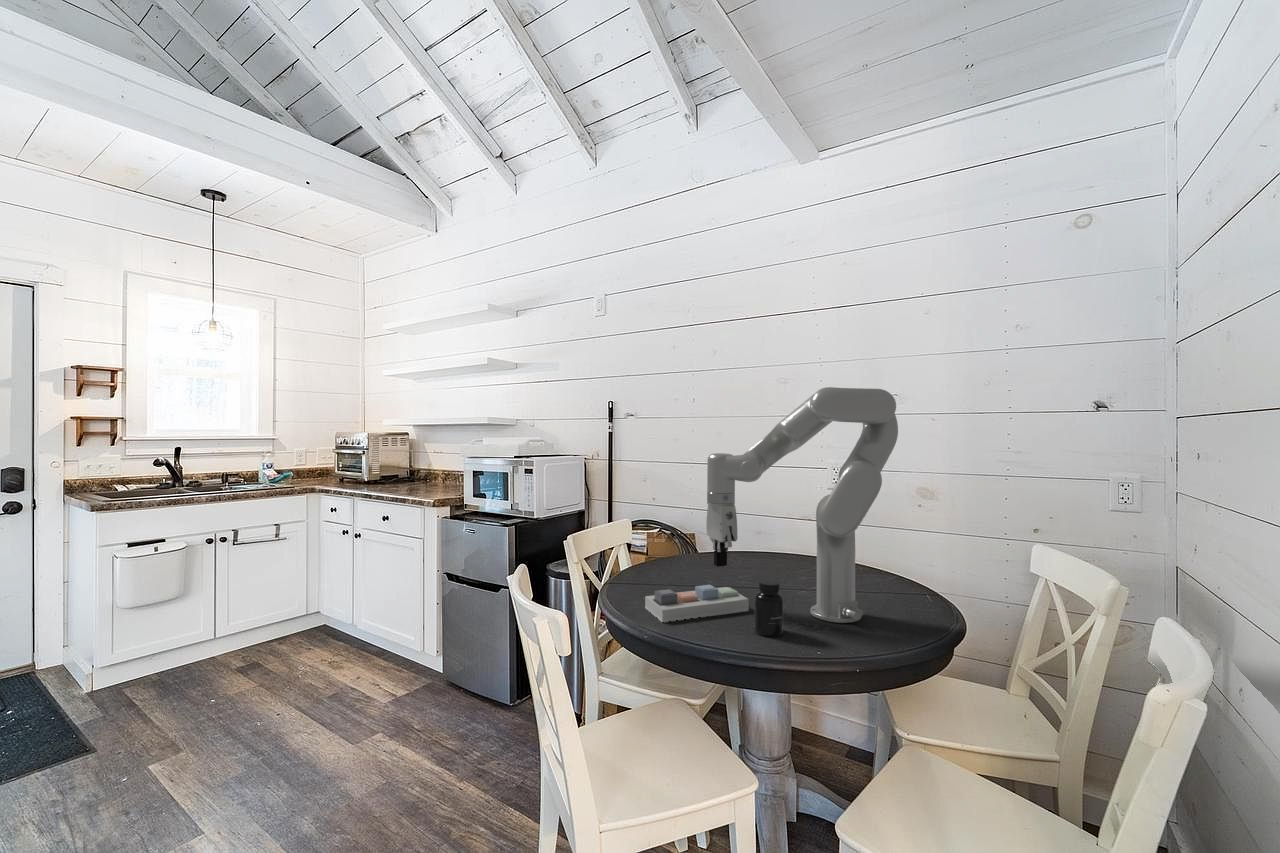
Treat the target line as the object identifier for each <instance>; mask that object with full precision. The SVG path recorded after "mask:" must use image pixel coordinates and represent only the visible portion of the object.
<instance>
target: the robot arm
mask: <svg viewBox="0 0 1280 853" xmlns="http://www.w3.org/2000/svg"><path fill="white" fill-rule="evenodd" d="M896 409H897V402H896V399H895V397H894V396H893V394H892V393H890V392H889V391H888V390H885V389H882V388H861V387H860V388H858V387H856V388H853V387H850V388H849V387H835V386H834V387H832V386H829V387H822V388H820V389H818V390H817V391H816V392H815V393H814V394H812V395H811V396H810V397H809V398H807V399H806V400H804V402H802V403H801V404H800V405H799V406H797V407H796V408H795V409H794V410H793V411H791V412H790V413H789V414H787V416H785V417H784V418H783V419H781V420H780V421H779V422H778V423H777V424H775V426H774V427H773V428H772V430H770V432H768V433H767V434H766V435H765V436H764V437H763V438H762V439H761V440H759V441H758V442H757V443H756V444H755V445H753V446H752V447H751V448H750V449H748V450H747V451H746V452H744V453H743V454H739V455H734V454H731V453H711V454H709V455H708V456H707V461H706V462H707V470H706V471H707V473H706V474H707V481H706V482H707V486H706V489H707V490H706V492H707V493H706V498H707V499H706V504H707V509H706V510H707V511H706V535H707V536H708V538H709V540H710V541H711V542H712V549H713V566H716V567H725V566H727V565H728V552H729V548H732V547H733V543H732V542H737V541H738V517H737V510H736V503H735V502H736V481H737V482H743V483H753V482H756V481H758V480H759V479H760V478H761V476H762V475H763V474H764V473H765V472H767V471H768V470H769V469H770V468H771V467H772V466H773V465H774V464H776V463H777V462H778V461H780V460H781V459H783V458H784V457H785V456H787V455H788V454H790V453H792V452H794V451H796V450H798V449H800V448H801V447H802V446H803V445H805V444H807V442H808V441H809V440H811V439H813V438H814V437H815V436H816V435H817V434H818V433H820V432H821V431H822V430H823V429H824V428H826V427H827V426H828V425H830V424H831V423H832V422H836V423H837V422H840V423H861V424H862V430H861V434H860V436H859V438H858V440H857V442H856V443H855V445H854V447H853V449H852V450H851V452H850V454H849V456H848V457H847V459H846V460H845V462H844V463H843V464H842V466H841V467H840V470H839V472H838V478H837V479H838V480H837V482H836V484H835V485H834V487H833V489H832V490H831V491H830V492H831V493H830V494H826V495H825V496H823V497H822V498H821V499H820V500H819V502H818V504H817V506H816V511H815V518H816V520H815V521H816V523H815V524H816V604H814V605H812V606H811V607H810V614H811V615H812V616H813V617H815V618H816V619H819V620H821V621H826V622H829V623H830V622H831V623H837V624H838V623H839V624H844V623H845V624H847V623H850V624H851V623H854V622H855V623H856V622H858V621H860V620H862V617H863V616H864V611H863V610H862V609H859V608H858V601H857V600H856V530H857V529H858V528H859V526H860V525H861V524H862V522H863V520H864V518H865V517H866V516H867V513H868V512H869V511H870V509H871V507H872V505H873V503H874V502H875V501H876V499H877V497H878V495H879V492H880V491H881V487H882V485H883V478H882V474H881V473H882V471H883V468H884V467H885V465H886V464H887V461H888V460H889V458H890V456H891V454H892V453H893V450H894V449H895V446H896V443H897V440H898V438H899V437H898V435H899V425H898V420H897V416H896V414H895V413H896V411H897V410H896Z"/></svg>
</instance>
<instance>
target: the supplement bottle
mask: <svg viewBox="0 0 1280 853" xmlns="http://www.w3.org/2000/svg"><path fill="white" fill-rule="evenodd" d="M780 591H781V590H780V582H778V581H776V580H771V579H768V580H767V579H763V580H760V581H759V583H758V592H756V594H755V595H754V606H753V607H754V608H753V609H754V610H753V612H754V615H753V616H754V617H753V618H754V619H753V620H754V621H753V629H754V632H755V633H756V634H757V635H760V636H764V637H769V638H770V637H774V638H775V637H779V636H781V635H782V634H783V633H784V597H783V595H782V594H781V593H779V592H780Z"/></svg>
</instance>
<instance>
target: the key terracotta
mask: <svg viewBox="0 0 1280 853" xmlns="http://www.w3.org/2000/svg"><path fill="white" fill-rule="evenodd" d="M682 592H683V593H679V592H676V593H677V600H678V601H679V602H681V603H687V602H695V601H698V596H697V595H695V594H693V593H692V592H687V591H682Z"/></svg>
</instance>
